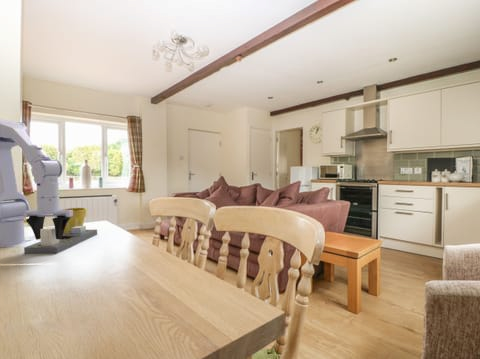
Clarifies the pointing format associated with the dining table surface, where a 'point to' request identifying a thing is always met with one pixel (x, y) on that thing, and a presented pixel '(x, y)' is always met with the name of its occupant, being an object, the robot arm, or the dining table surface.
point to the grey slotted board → (60, 243)
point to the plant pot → (75, 218)
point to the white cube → (78, 229)
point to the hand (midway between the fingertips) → (49, 238)
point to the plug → (48, 236)
